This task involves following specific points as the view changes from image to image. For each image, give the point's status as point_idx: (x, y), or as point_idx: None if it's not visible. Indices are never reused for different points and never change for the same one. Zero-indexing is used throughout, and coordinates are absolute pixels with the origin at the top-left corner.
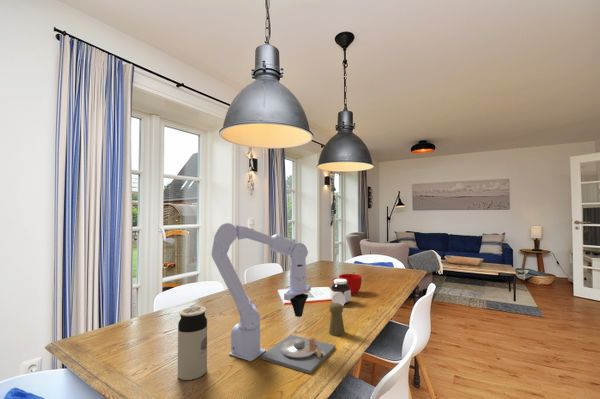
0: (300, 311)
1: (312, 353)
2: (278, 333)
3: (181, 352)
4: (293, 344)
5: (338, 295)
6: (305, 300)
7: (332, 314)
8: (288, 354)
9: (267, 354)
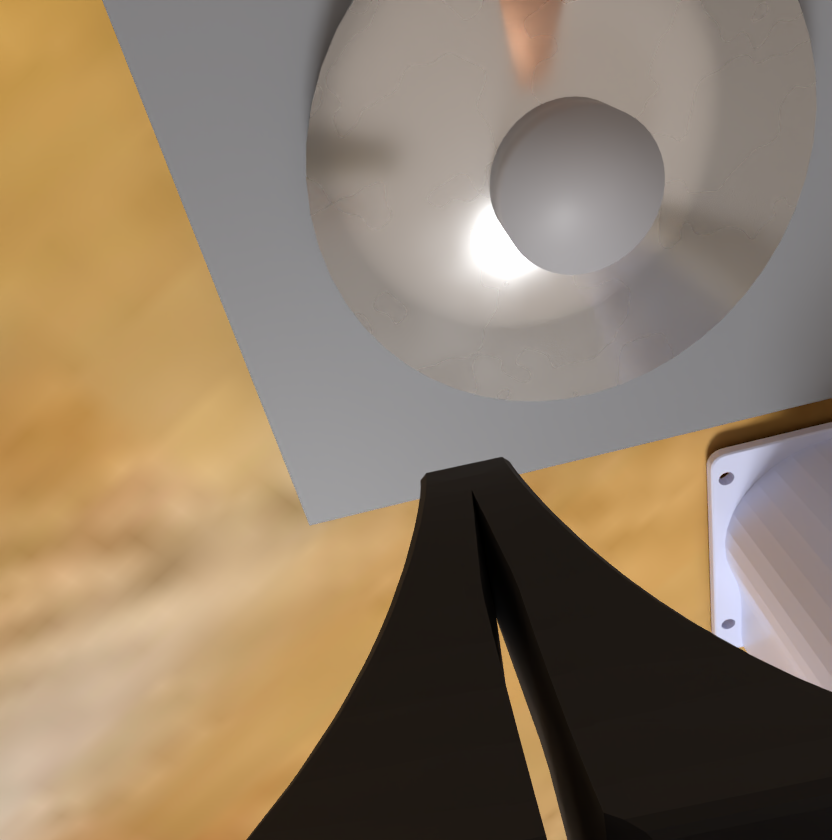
0: (551, 516)
1: None
2: (336, 639)
3: None
4: (561, 279)
5: None
6: (389, 740)
7: None
8: (811, 131)
9: (823, 361)
